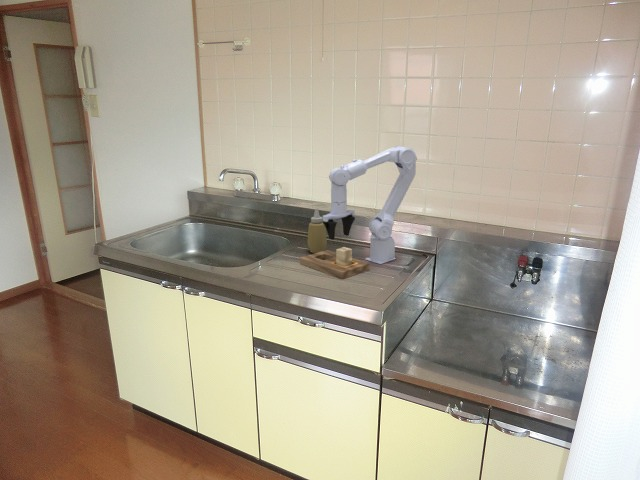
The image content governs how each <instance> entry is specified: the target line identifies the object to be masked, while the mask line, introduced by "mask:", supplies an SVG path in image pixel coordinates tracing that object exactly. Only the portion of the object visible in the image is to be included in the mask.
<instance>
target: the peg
mask: <svg viewBox="0 0 640 480" xmlns="http://www.w3.org/2000/svg"><path fill="white" fill-rule="evenodd" d="M335 250H336V251H335V253H336V264H337V265H340V266H343V267H346V266H349V265H352V258H353V249H352V248H350V247H346V246H342V247H340V248H336V249H335Z"/></svg>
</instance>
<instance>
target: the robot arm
mask: <svg viewBox="0 0 640 480" xmlns="http://www.w3.org/2000/svg"><path fill="white" fill-rule="evenodd" d="M417 160H418V158H417V155H416V152H415V151H414V149H412V148H411V147H406V146H402V145H396V146H394V147H390V148H388V149H386V150H383V151H381V152H379V153H378V154H377V153H376V154H375V155H373V156H371V157H369V158H367V159H365V160H362V159H357V158H354V159H352V161H351V162H349V163H347V164H345V165H344V164H342V165H340V168H339V167H335V168H333V169H332V170H331V171H330V173H329V175H328V178H329V180H330V183H331V184H330V187H331V188H330V200H331V202H330V208H331V209H330V211H329V213H327V214H324V215H322V218H323V221H322V222H323V224H324V225H325V229H326V233H327V236H328V239H329V240H334V241H335V238H336V237H335V234H336V233H335V232H336V226H337V223H338V222H336V221H334V220H337V219H341V222H342V231H343V236H348V237H349V235H350V233H351V229H352V225H353V223H354V222H355V220H356V218H355V217H356V216H355V210H354V209H348V207H347V206H348V204H347V202H348V200H347V197H348V195H347V193H348V190H347V184H348V183H349V181H351V180H354V179H357V178H359V177H361V176H363V175H365V174H366V173H367V171H368V169H371V168H374V167H376V166H379V165H383V164H385V163H387V162H390V163H394V164H395V165H396V167H397V169H398V172H399V175H398V177H397V179H396V181H395V182H394V185H393V187H392V189H391V191H390V192H389V194H388V196H387V198H386V200H385V202H384V204H383V207H382V209H381V210H380V211H379V212H378V213H377V214H376V215H375V216H374V217H373V219H371V220H370V222H369V224H368V230H369V232H370V233H371V234H370V238H369V239H370V244H369V245H370V247H369V251H370V252H369V257H366V258H365V261H369V262H371V263H372V262H373V263H375V264H378V265H382V264H384V263H385V264H386V263H387V262H390V261H394V260H396V259H397V257H396V258H395V255H396V254H395V253H396V251H395V250H396V242H395V239H394V238H393V236H391V235H392V232H393V228H394V227H393V226H394V225H395V219H394V218H395V216H396V213H397V212H398V210H399V209H400V206H401V204H402V202H403V200H404V198H405V196H406V194H407V192H408V190H409V188H410V186H411V184H412V183H413V180H414V178H415V176H416V167H417V166H416V163H417Z"/></svg>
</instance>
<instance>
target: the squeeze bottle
mask: <svg viewBox="0 0 640 480" xmlns="http://www.w3.org/2000/svg"><path fill="white" fill-rule="evenodd" d="M313 212H314V213H313V216H312V217H310V222H309V224H308V231H307V240H306V241H307V247H308V248H309V249H308V250H309V252H310V253H312V254H314V253H318V252H322V251H325V250H326V248H327V244H328V240H327V230H326V227H325V225H324V224H323V216H321V215H320V211H319V208H315V209H314V211H313Z"/></svg>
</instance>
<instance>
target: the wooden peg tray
mask: <svg viewBox="0 0 640 480" xmlns="http://www.w3.org/2000/svg"><path fill="white" fill-rule="evenodd" d="M299 265H302V266H305V267H308V268H311V269H314V270H315V271H317V272H318V271H319V272H321V273H325V274H327V275H330V276H332V277H334V278H338V279H341V280H344V279H346V278H350V277H353V276H355V275H359V274H362V273H365V272H368V271H370V270H371V263H370V262H367V261H363V260H361V259H357V258H354V257H352V265H349V266H346V267H343V266H340V265H337V264H336V251H331V250H329V249H325V251H322V252H318V253H312V254H308V255H305V256H300V257H299Z"/></svg>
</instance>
